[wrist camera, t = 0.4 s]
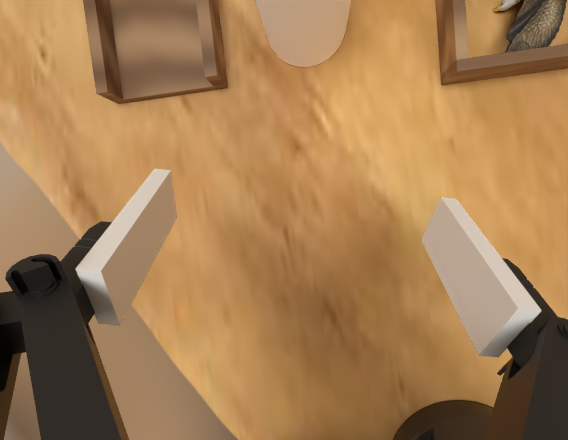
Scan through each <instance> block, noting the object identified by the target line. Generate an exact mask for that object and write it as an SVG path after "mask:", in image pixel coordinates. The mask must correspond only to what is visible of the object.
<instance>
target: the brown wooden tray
mask: <svg viewBox="0 0 568 440" xmlns="http://www.w3.org/2000/svg"><path fill="white" fill-rule="evenodd" d="M83 3H84V10H85V17H86V24H87V31H88V38H89V45H90V52H91V59H92V66H93V73H94V80H95V87H96V94H98V95H101V96H103V97H105V98H107V99H109V100H111V101H114V102H116V103H118V104H121V103H127V102H134V101H141V100H148V99H155V98H162V97H168V96H175V95H182V94H189V93H196V92H203V91H209V90H216V89H223V88H227V79H226V70H225V62H224V53H223V44H222V35H221V26H220V18H219V9H218V0H83Z"/></svg>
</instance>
